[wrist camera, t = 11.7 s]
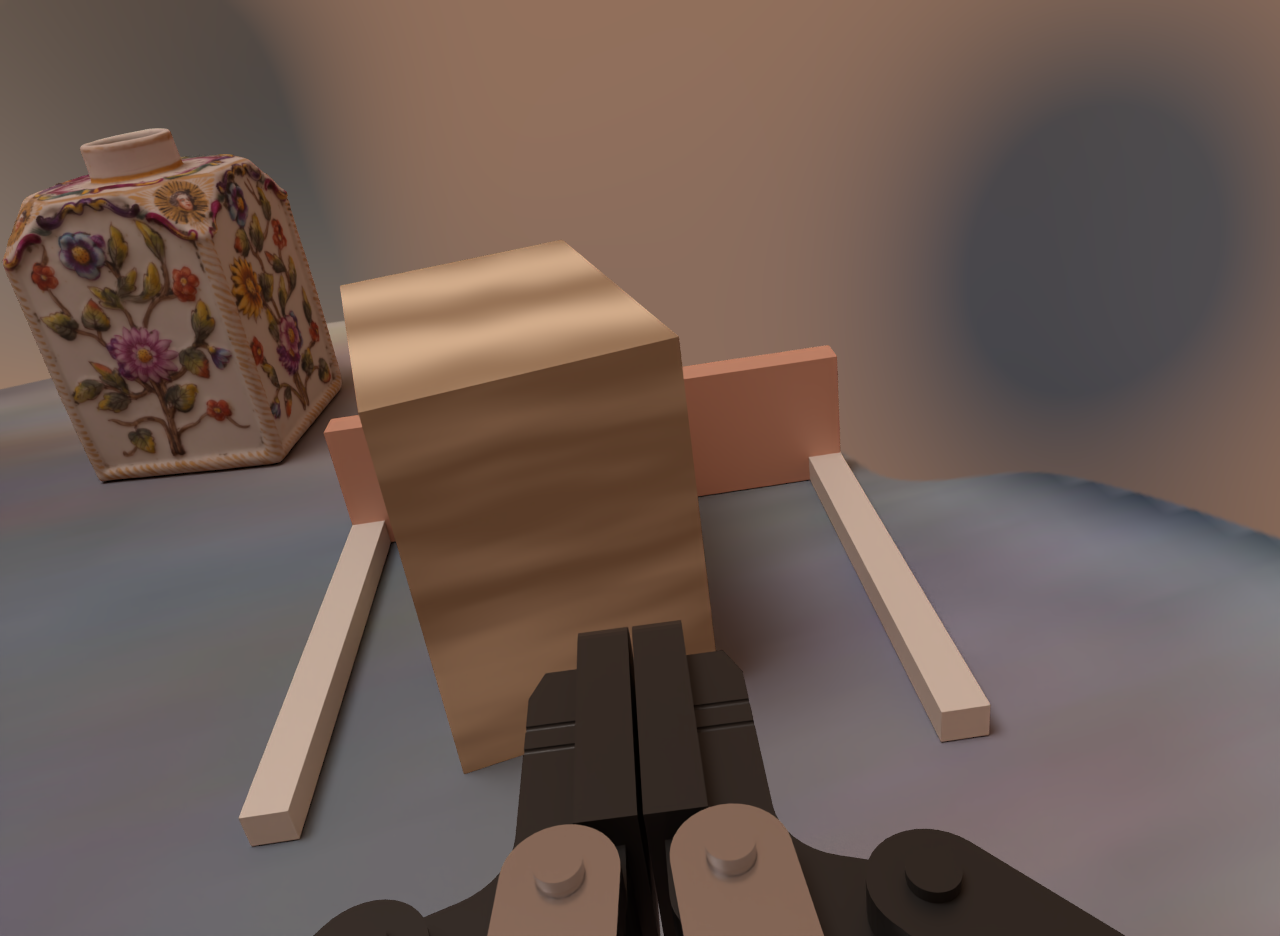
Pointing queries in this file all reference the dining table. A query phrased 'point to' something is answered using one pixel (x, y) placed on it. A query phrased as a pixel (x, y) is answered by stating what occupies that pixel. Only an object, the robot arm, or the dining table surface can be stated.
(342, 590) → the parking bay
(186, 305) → the decorative jar
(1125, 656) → the dining table surface
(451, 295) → the wooden block
